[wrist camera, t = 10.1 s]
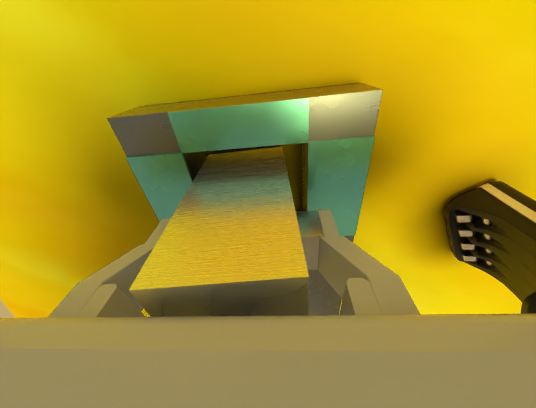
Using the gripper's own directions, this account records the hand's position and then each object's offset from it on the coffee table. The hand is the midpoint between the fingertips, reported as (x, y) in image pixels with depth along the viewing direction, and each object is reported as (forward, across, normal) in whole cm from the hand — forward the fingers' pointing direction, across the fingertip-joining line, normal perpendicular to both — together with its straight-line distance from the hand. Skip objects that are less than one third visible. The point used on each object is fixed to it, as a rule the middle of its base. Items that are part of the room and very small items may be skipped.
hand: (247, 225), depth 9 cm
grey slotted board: (+4, 0, +8) cm, 9 cm away
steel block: (+4, 0, 0) cm, 4 cm away
